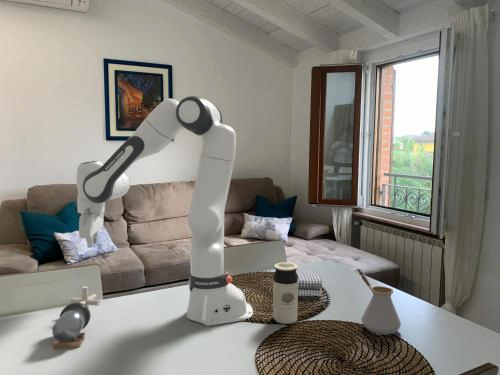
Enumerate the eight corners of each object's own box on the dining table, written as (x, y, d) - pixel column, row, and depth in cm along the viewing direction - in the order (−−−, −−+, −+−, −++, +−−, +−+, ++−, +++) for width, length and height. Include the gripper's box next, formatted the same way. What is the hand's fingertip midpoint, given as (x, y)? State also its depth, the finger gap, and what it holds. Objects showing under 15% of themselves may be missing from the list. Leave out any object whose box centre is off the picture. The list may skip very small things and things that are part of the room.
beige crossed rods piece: (90, 324, 123) (89, 293, 122) (62, 321, 125) (61, 291, 124) (108, 311, 132) (107, 283, 131) (82, 309, 134) (80, 281, 133)
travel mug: (274, 313, 131) (274, 261, 130) (297, 314, 130) (298, 262, 129) (272, 323, 124) (272, 268, 122) (297, 325, 123) (298, 270, 121)
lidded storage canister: (61, 332, 117) (60, 303, 116) (91, 330, 118) (90, 301, 117) (50, 349, 107) (48, 317, 106) (82, 347, 108) (81, 315, 108)
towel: (283, 298, 145) (283, 278, 144) (278, 282, 163) (278, 264, 162) (323, 299, 145) (323, 278, 144) (314, 282, 163) (315, 264, 163)
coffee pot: (408, 336, 115) (410, 287, 114) (373, 340, 113) (375, 291, 111) (370, 308, 136) (372, 266, 135) (340, 311, 133) (341, 268, 132)
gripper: (93, 211, 127) (94, 252, 128) (106, 203, 147) (107, 238, 149) (73, 211, 126) (74, 253, 127) (88, 203, 146) (90, 239, 148)
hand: (92, 245), depth 138 cm, fingers open, 4 cm apart
